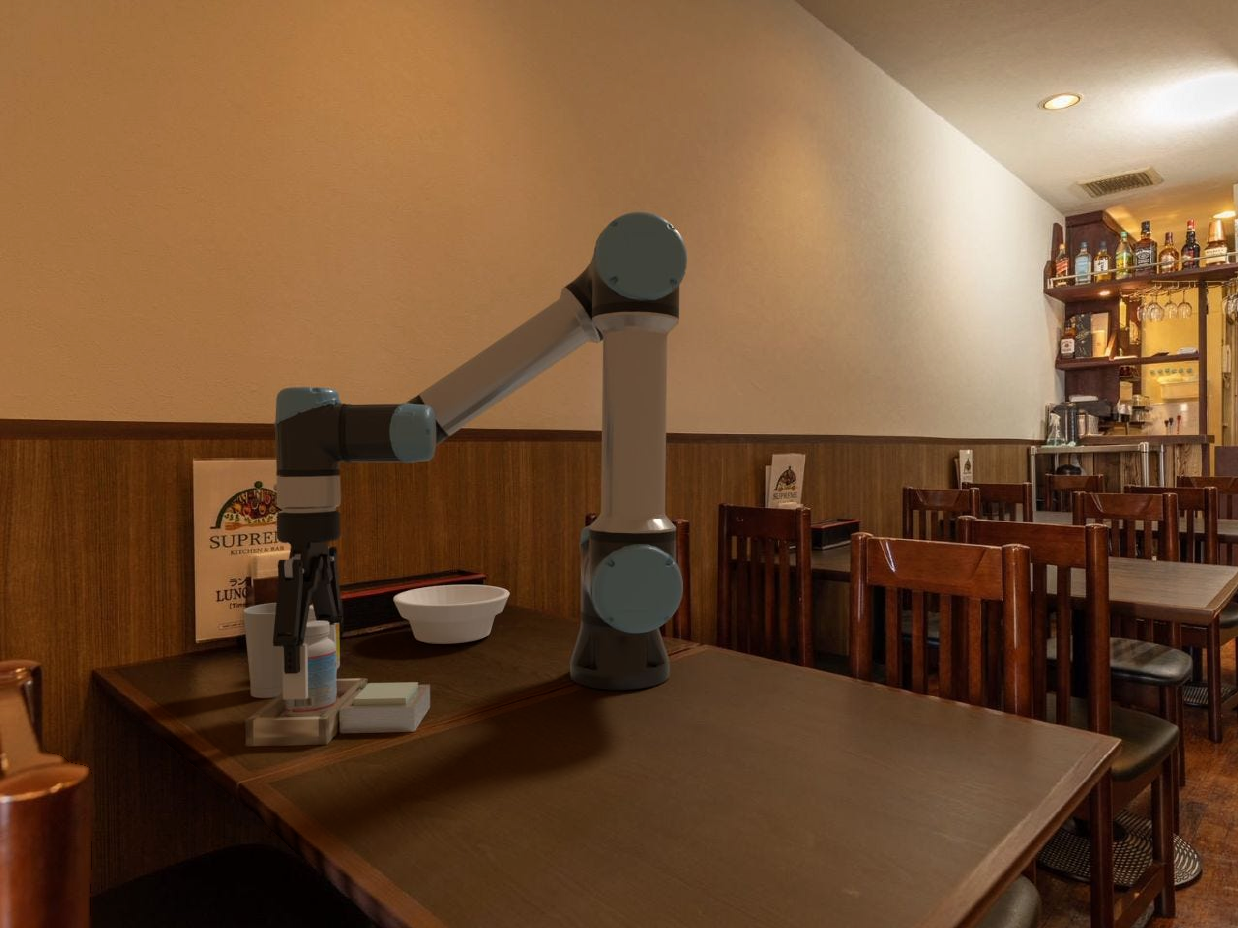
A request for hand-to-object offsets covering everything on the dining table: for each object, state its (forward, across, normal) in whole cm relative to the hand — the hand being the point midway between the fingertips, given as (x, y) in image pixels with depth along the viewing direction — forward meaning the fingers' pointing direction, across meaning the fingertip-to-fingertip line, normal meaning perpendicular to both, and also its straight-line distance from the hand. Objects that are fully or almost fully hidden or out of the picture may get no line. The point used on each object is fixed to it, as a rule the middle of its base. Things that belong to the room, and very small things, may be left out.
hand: (311, 685), depth 95 cm
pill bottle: (+4, 0, 0) cm, 4 cm away
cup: (+5, -13, -10) cm, 17 cm away
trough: (+5, 0, 0) cm, 5 cm away
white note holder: (+5, 0, +10) cm, 11 cm away
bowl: (+5, -43, +10) cm, 44 cm away
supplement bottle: (+5, -23, -7) cm, 25 cm away
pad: (+2, 0, +10) cm, 10 cm away
